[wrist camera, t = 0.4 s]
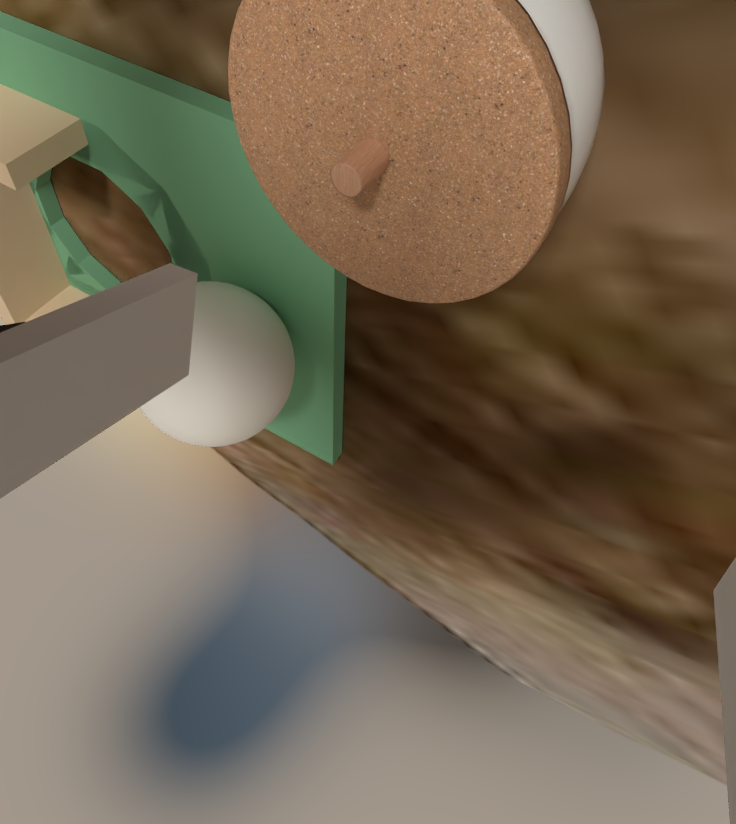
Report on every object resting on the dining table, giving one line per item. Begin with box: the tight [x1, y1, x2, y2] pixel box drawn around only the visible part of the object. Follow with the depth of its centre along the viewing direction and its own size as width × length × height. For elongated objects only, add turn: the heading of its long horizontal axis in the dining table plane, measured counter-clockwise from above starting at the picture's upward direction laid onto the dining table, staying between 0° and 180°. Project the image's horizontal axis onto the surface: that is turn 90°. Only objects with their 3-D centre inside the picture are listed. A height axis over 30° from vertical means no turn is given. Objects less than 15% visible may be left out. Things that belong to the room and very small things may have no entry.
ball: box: [139, 281, 295, 447], centre depth 38 cm, size 9×9×9 cm
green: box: [0, 11, 347, 465], centre depth 38 cm, size 24×26×21 cm
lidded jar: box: [228, 0, 605, 303], centre depth 21 cm, size 11×11×9 cm
